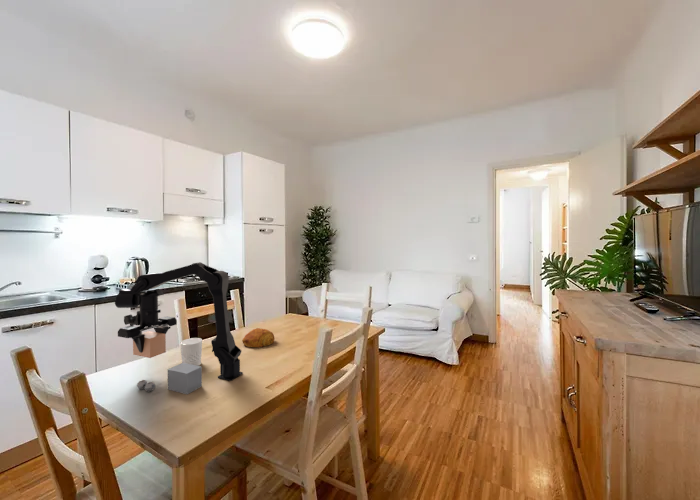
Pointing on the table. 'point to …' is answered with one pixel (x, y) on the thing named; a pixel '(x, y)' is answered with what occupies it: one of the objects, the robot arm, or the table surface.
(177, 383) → the pale grey box
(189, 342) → the white cup
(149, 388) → the marble
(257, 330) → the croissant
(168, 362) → the table surface
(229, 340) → the robot arm
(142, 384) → the marble
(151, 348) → the peach rectangular block
